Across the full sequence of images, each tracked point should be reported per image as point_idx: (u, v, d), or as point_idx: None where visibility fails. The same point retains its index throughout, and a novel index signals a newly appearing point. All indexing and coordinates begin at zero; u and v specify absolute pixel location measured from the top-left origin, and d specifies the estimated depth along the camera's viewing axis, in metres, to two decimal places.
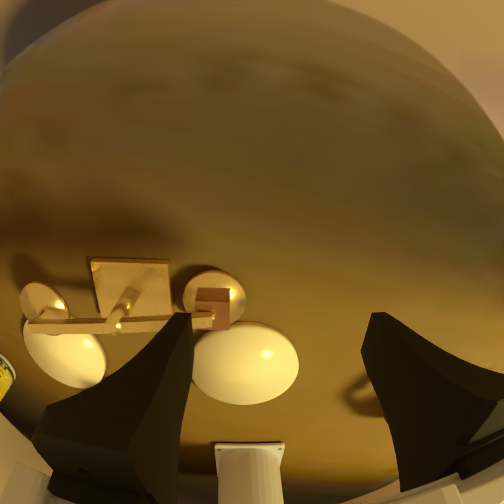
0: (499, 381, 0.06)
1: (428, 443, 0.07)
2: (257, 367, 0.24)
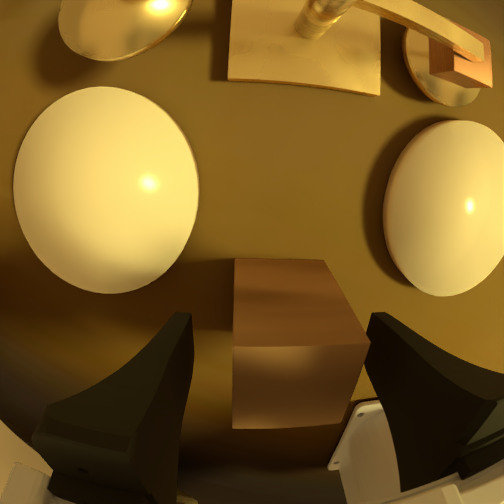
0: (499, 382, 0.06)
1: (428, 443, 0.07)
2: (483, 206, 0.12)
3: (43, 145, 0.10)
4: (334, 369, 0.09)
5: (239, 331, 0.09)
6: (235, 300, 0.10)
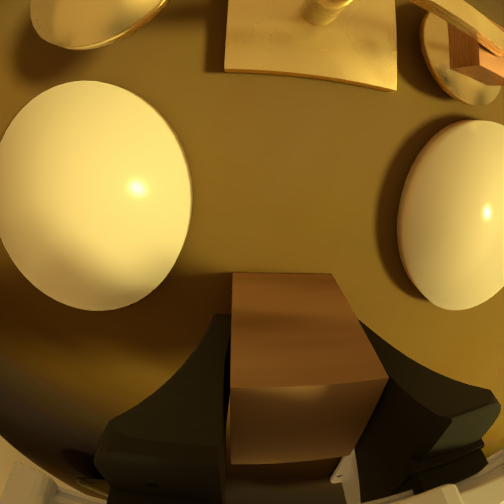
0: (462, 394, 0.05)
1: (384, 455, 0.06)
2: (501, 214, 0.11)
3: (21, 148, 0.09)
4: (346, 406, 0.07)
5: (238, 368, 0.07)
6: (233, 326, 0.09)
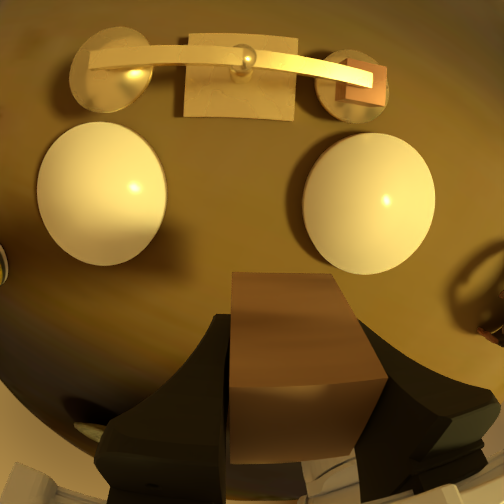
0: (462, 394, 0.05)
1: (384, 455, 0.06)
2: (392, 201, 0.17)
3: (60, 161, 0.16)
4: (345, 406, 0.07)
5: (237, 367, 0.07)
6: (232, 326, 0.09)
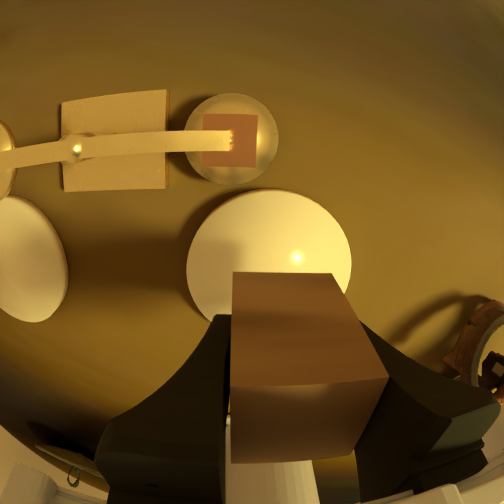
0: (462, 394, 0.05)
1: (384, 455, 0.06)
2: (291, 267, 0.16)
3: None
4: (346, 406, 0.07)
5: (237, 367, 0.07)
6: (233, 325, 0.09)
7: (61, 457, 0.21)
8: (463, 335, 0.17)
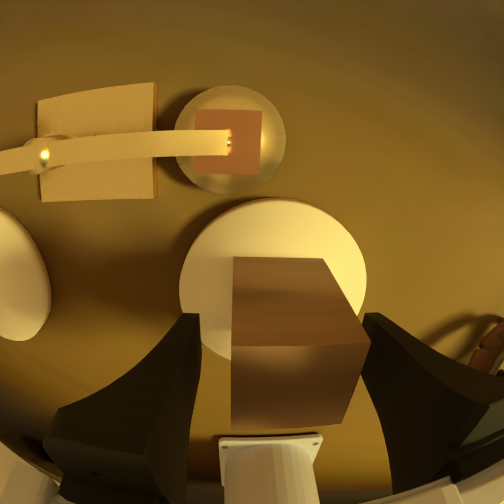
0: (493, 384, 0.06)
1: (420, 445, 0.07)
2: None
3: None
4: (334, 369, 0.09)
5: (237, 331, 0.09)
6: (233, 299, 0.10)
7: (54, 474, 0.19)
8: (474, 360, 0.15)
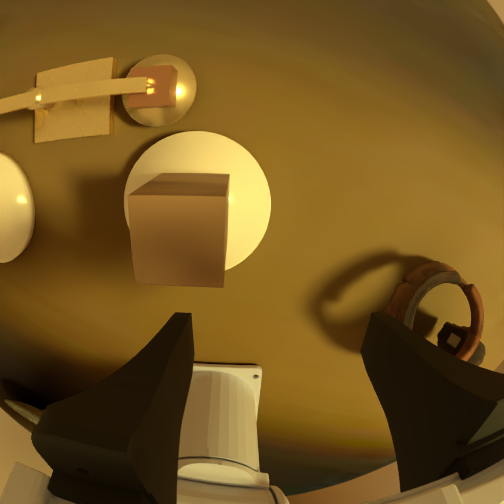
0: (499, 382, 0.06)
1: (428, 443, 0.07)
2: None
3: None
4: (200, 220, 0.12)
5: (136, 191, 0.12)
6: (145, 184, 0.14)
7: (24, 408, 0.22)
8: (396, 293, 0.19)
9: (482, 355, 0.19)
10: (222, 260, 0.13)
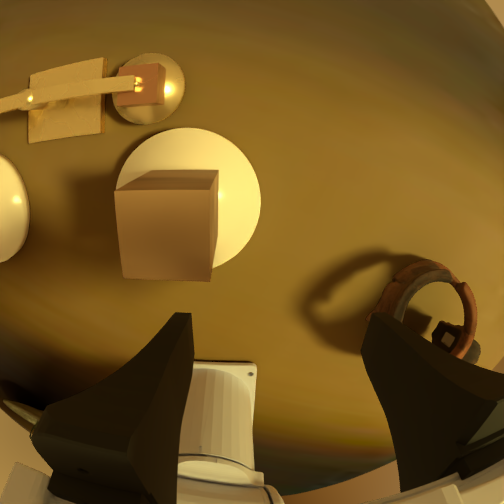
0: (499, 381, 0.06)
1: (428, 443, 0.07)
2: None
3: None
4: (185, 214, 0.12)
5: (123, 187, 0.12)
6: (133, 180, 0.14)
7: (22, 408, 0.22)
8: (386, 292, 0.19)
9: (477, 354, 0.19)
10: (208, 254, 0.13)
